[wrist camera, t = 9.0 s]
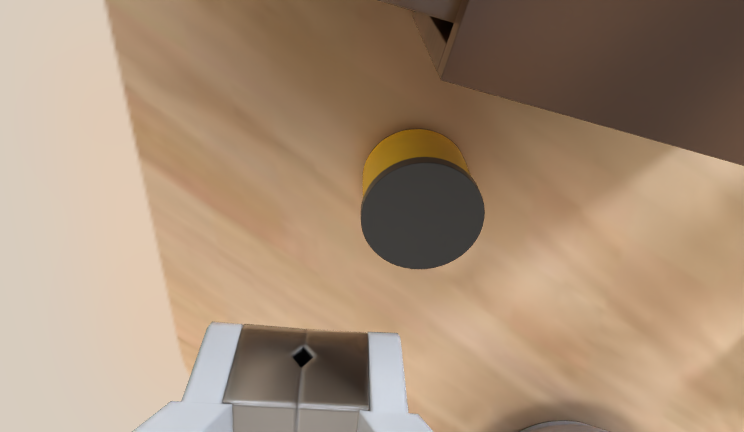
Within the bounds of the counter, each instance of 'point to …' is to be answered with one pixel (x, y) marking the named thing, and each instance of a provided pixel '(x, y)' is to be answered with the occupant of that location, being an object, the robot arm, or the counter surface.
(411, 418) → the robot arm
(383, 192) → the jar
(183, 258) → the counter surface
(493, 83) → the cabinet
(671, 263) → the counter surface
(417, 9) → the drawer
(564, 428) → the coffee pot
